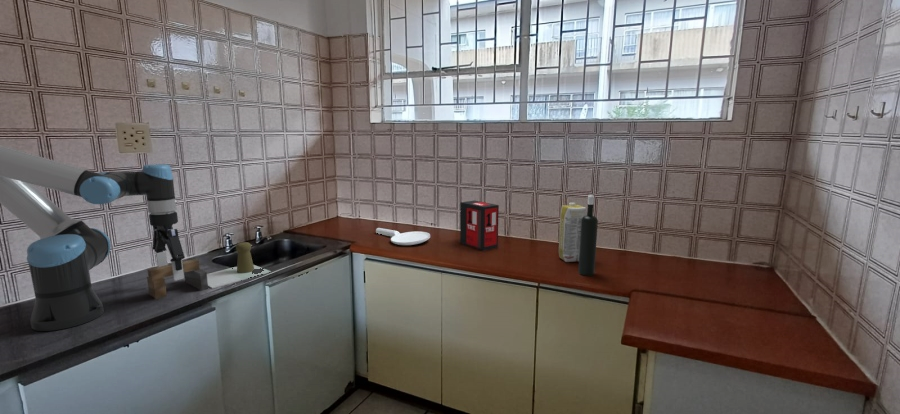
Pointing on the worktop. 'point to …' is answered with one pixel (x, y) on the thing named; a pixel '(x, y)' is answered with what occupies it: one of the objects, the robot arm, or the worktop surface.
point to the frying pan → (404, 236)
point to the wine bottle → (588, 241)
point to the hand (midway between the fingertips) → (170, 275)
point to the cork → (244, 258)
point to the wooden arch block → (157, 274)
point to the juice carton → (570, 231)
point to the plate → (229, 276)
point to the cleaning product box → (479, 225)
